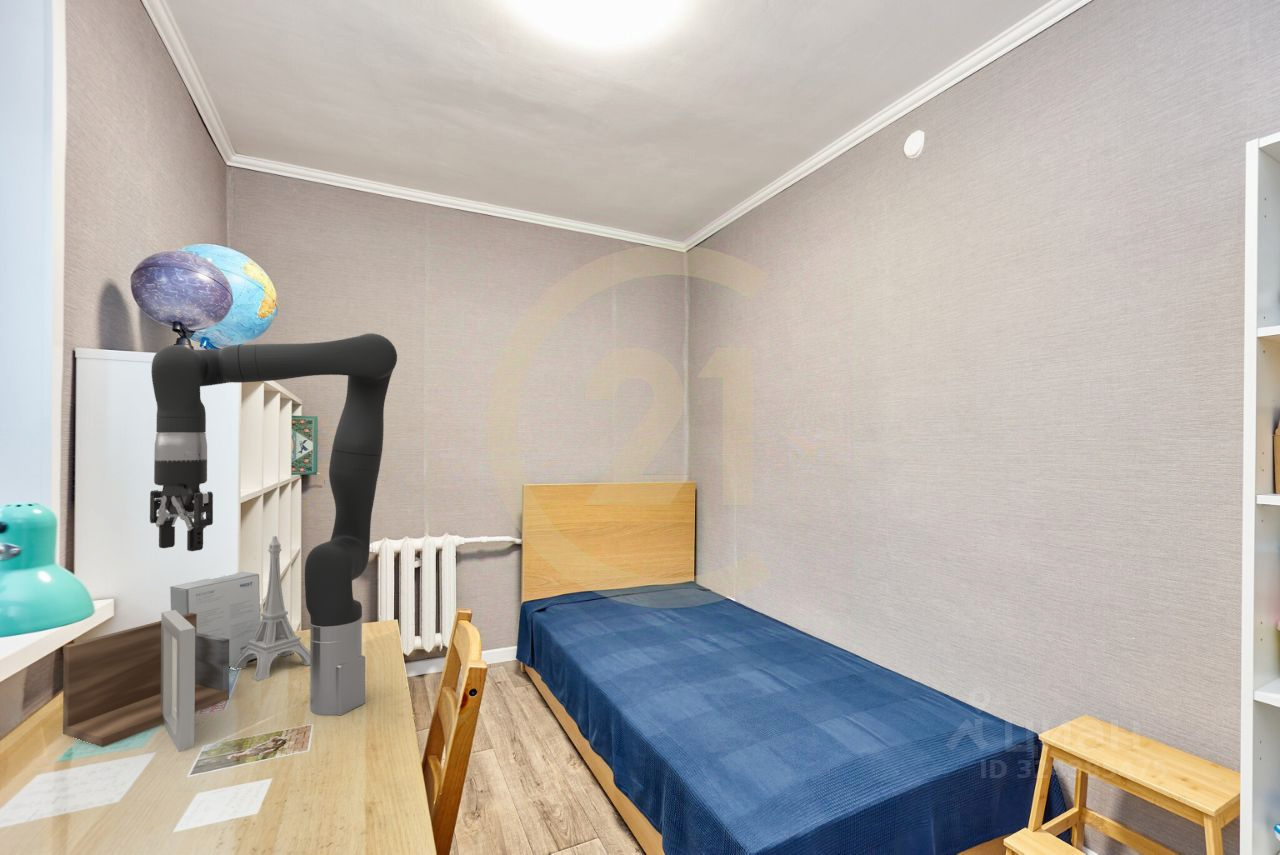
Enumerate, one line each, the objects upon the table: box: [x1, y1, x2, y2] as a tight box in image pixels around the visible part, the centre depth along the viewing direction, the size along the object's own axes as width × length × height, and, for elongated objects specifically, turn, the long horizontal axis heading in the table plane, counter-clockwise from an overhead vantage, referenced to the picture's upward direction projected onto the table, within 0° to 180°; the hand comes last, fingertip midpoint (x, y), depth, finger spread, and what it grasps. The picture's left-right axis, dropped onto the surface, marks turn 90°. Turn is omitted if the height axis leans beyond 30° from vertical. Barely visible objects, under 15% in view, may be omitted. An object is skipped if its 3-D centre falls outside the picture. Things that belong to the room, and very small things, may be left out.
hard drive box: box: [169, 571, 261, 667], centre depth 136 cm, size 16×8×20 cm, turn 151°
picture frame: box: [160, 610, 196, 753], centre depth 106 cm, size 16×3×21 cm, turn 48°
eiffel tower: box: [230, 535, 310, 682], centre depth 137 cm, size 13×13×30 cm
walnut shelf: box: [62, 613, 230, 748], centre depth 112 cm, size 12×21×16 cm, turn 158°
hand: (180, 548), depth 106 cm, fingers open, 7 cm apart
